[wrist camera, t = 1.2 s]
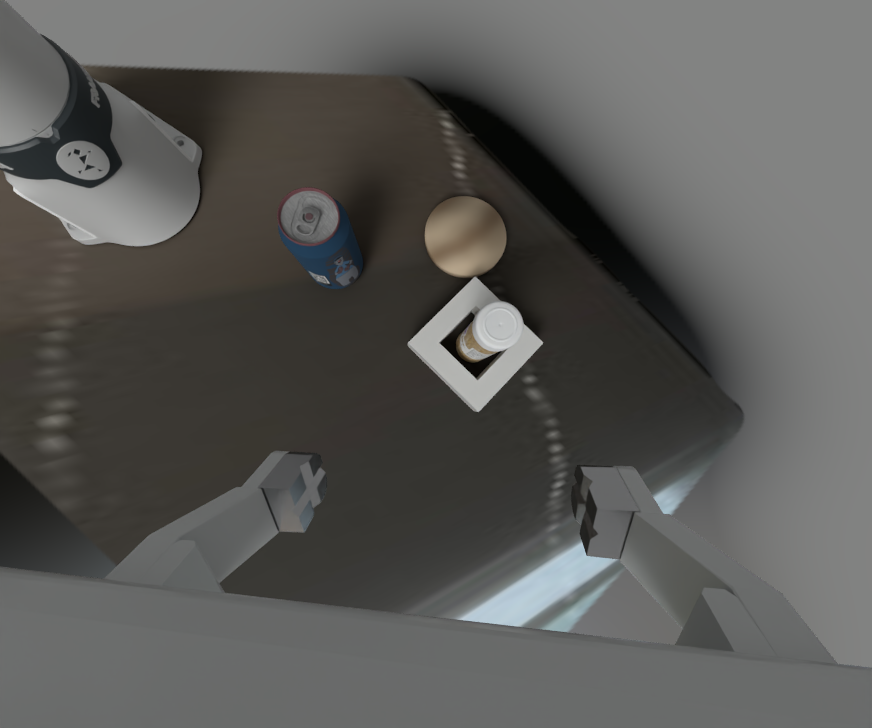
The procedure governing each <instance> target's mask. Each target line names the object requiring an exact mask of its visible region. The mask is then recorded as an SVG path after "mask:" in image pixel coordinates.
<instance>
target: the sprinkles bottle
mask: <svg viewBox="0 0 872 728" xmlns="http://www.w3.org/2000/svg"><path fill="white" fill-rule="evenodd" d="M523 328H524V324H523V319H522V316H521V314H520V312H519V311H518V310H517V309H516V308H515V307H514V306H513V305H511V304H509V303H507V302H503V301H494V302H491V303H488V304H486V305H485V306H484V307H483V308H481V309H480V311H479V312H478V313H477V314H476V316H475V318H474V320H473V321H472V322H471V323H470V325H469V326H468V327H467V328H466V329H465V330H464V331H463V332H462V333H461V334H460V335H459V336H458V338H457V341H456V350H457V352H458V354H459V356H460V357H461V358H462V359H464V360H465V361H467V362H473V363H474V362H479V361H480V360H482V359H484V358H486V357H488V356H491V355H493V354H495V353H497V352H499V351H503V350H506V349H508V348H510V347H512V346H513V345H515V344H516V343H517V342H518V341H519V339H520V338H521V336H522V333H523Z"/></svg>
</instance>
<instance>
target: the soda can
mask: <svg viewBox="0 0 872 728" xmlns="http://www.w3.org/2000/svg"><path fill="white" fill-rule="evenodd" d="M277 219H278V228H279V234H280V237H281V239H282V241H283V243H284V244H285V246H286V247H287V248H288V249H289V250H290V252H291V253H292V254H293V255H294V256H295V257H296V259H297V260H298V261H299V262H300V263H301V265H302V266H303V267H304V268H305V269H306V271H307V272H308V273H309V274H310V275H311V277H312V278H313V279H314V280H315V281H316V282H317V283H318V284H320V285H322V286H324V287H326V288H330V289H341V288H345V287H347V286H349V285H351V284H353V283H354V282H355V281H356V280H357V279H358V277H359V276H360V274H361V272H362V268H363V258H362V254H361V251H360V249H359V246H358V243H357V240H356V237H355V235H354V232H353V229H352V226H351V224H350V221H349V218H348V215H347V213H346V211H345V209H344V208H343V207H342V205H341V204H340V203H339V202H338V201H336V200H335V199H334V198H332V197H331V196H330V195H329V194H327V193H326V192H324V191H322V190H320V189H317V188H312V187H305V188H299V189H296V190H294V191H292V192H290V193H289V194H287V195H286V196H285V197H284V198H283V200H282V201H281V203H280V205H279V208H278V213H277Z"/></svg>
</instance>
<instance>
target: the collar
mask: <svg viewBox="0 0 872 728" xmlns="http://www.w3.org/2000/svg"><path fill="white" fill-rule="evenodd" d="M494 301H500V300H499V299H498V298H497V297H496V296H495V295H494V294H493V293H492V292H491V291H490V290H489V289H488V288H487V287H486V286H485V285H484V284H483V283H482V282H481V281H480V280H479V279H477V278H476V277H474V278H473V279H472V280H471V281H470V282H469V283H468V284H467V285H466V286H465V287H464V288H463V289H462V290H461V291H460V292H459V293H458V294H457V295H456V296H455V297H454V298H453V299H452V300H451V301H450V302H449V303H448V304H447V305H446V306H445V307H444V308H443V309H442V310H441V311H440V312H439V313H437V314H436V315H435V316H434V317H433V318H432V319H431V320H430V321H429V322H428V323H427V324H426V325H425V326H424V327H423V328H422V329H421V330H420V331H419V332H418V333H417V334H416V335H415V336H414V337H413V338H412V339H411V340H410V341H409V342H408V347H409V348H410V349H411V350H412V351H413V352H414V353H415V354H416V355H417V356H418V357H419V358H420V359H421V360H422V361H423V362H424V363H426V364H427V365H428V366H429V367H430V368H431V369H432V370H433V371H434V372H435V373H436V374H437V375H438V376H439V377H440V378H441V379H442V380H443V381H444V382H445V383H446V384H447V385H448V386H449V387H450V388H451V389H452V390H453V391H454V392H455V393H456V394H457V395H458V396H459V397H460V398H461V399H462V400H463V401H464V402H465V403H466V404H467V405H468V406H469V407H470V408H471V409H472V410H473V411H476V412H479V411H480V410H481V409H482V408H483V407H484V406H485V405H486V404H487V403H488V401H489V400H490V399H491V398H492V397H493V396H494V395H495V394H496V393H497V392H498V391H499V390H500V389H501V388H502V387H503V385H504V384H505V383H506V382H507V381H508V380H509V379H510V378H511V377H512V376H513V375H514V374H515V373H516V372H517V371H518V369H519V368H520V367H521V366H522V365H523V364H524V363H525V362H526V361H527V360H528V359H529V358H530V357H531V356H532V355H533V353H534V352H535V351H536V350H537V349H538V348H539V347H540V346H541V345H542V344H543V342H542V341H541V340H540V339H539V338H538V337H537V336H536V335H535V334H534V333H533V332H532V331H531V330H530V329H529V328H528V327H527V326H526V325H525V324H524V323H523V324H524V328H523V333H522V336H521V338H520V339H519V341H518V342H517V343H516V344H515V345H513V346H512V347H510V348H508V349H506V350H503V351H502V352H501V353H500V354H499V355H498V356H497V357H496V358H495V359H494V360H493V361H492V362H491V363H490V364H489V365H488V366H487V367H486V368H485V369H484V370H483V372H482V373H481V374H480V375H479V376H478V377H477V378H475V377H474V376H473V375H472V374H471V373H470V372H468V371H467V370H466V369H465V368H464V367H463V366H462V365H461V364H460V363H459V362H458V361H457V360H456V359H455V358H454V357H453V356H452V355H451V354H450V353H449V352H448V351H447V350H446V349H445V348H444V347H443V346H442V345H441V344H440V343H441V342H442V341H443V340H444V339H445V338H446V337H447V336H448V335H449V334H450V333H451V332H452V331H453V330H454V329H455V328H456V327H457V326H458V325H459V324H460V323H461V322H462V321H463V320H464V319H465V318H466V317H467V316H468V315H469V314H470V313H471V312H472V313H473V314H474V315H475V316H476V314H477V313H478V312H479V311H480V309H481V308H483V307H484V306H485V305H486V304H488V303H491V302H494Z"/></svg>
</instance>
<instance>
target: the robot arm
mask: <svg viewBox="0 0 872 728" xmlns="http://www.w3.org/2000/svg"><path fill="white" fill-rule="evenodd" d="M182 145H183V146H182ZM201 158H202V150H201V148H200V147H199V146H198V145H197V144H196V143H195V142H194V141H193V140H191V139H190V138H188V137H187V136H185V135H184V134H182V133H181V132H179V131H178V130H176V129H175V128H173V127H172V126H170V125H169V124H167V123H166V122H164V121H163V120H161V119H160V118H158V117H157V116H155V115H154V114H152V113H151V112H149V111H148V110H146V109H145V108H143V107H142V106H140V105H139V104H137V103H136V102H134V101H133V100H131V99H130V98H128V97H126V96H125V95H123V94H122V93H120V92H119V91H117V90H116V89H114V88H113V87H111V86H110V85H108V84H106V83H100V82H98V81H96V80H95V79H93V78H92V77H91V76H90V75H89V74H88V72H87V71H86V70H85V69H84V68H83V67H82V66H81V65H80V64H79V63H78V62H77V61H76V60H75V59H74V58H73V57H71V56H70V55H69V54H68V53H66V52H65V51H64V50H63V49H61V48H60V47H59V46H58V45H57V44H56V43H54V42H53V41H52V40H50V39H48V38H47V37H45V36H44V35H41V34H39V33H38V32H37V31H36V30H35V29H34V28H33V27H32V26H31V25H30V24H29V23H28V22H27V21H25V19H24V18H23V17H21V15H20V14H18V13H17V12H16V11H15V10H14V9H13V8H12V7H11V6H10V5H9V4H8V3H7V2H6V1H5V0H0V169H1V170H3V171H4V173H5V176H6V180H7V181H8V182H9V183H10V184H11V185H12V186H13V190H14V191H15V192H16V193H17V194H18V195H20V196H21V197H23V198H25V199H26V200H28V201H30V202H32V203H34V204H35V205H37V206H39V207H41V208H42V209H44V210H46V211H48V212H50V213H51V214H53V215H55V216H57V217H59V218H60V220H61V221H62V223H63V224H64V226H65V228H66V229H67V231H68V232H69V234H70V235H71V237H72V238H74V239H75V240H77V241H79V242H80V243H82V244H86V245H91V244H99V243H105V242H112V243H117V244H122V245H128V246H146V245H152V244H156V243H159V242H162V241H164V240H166V239H168V238H170V237H172V236H174V235H175V234H177V233H178V232H179V231H180V230H181V229H183V228H184V227H185V226H186V224H187V223H188V222H189V221H190V219H191V218H192V216H193V215H194V213H195V211H196V208H197V205H198V202H199V197H200V184H199V178H198V168H199V165H200V162H201ZM322 463H323V462H322V459H321V456H320V455H319V454H317V453H305V452H291V451H290V452H285V451H275V452H272V453H271V454H270V455H269V456H268V457H267V459H266V460H265V461H264V462H263V463H262V464H261V465H260V466H259V468H258V469H257V470H256V471H255V472H254V473H253V474H252V476H251V477H250V478H249V479H248V480H247V481H246V482H245V484H244V485H243V486H242V487H236V488H234V489H232V490H230V491H229V492H227V493H225V494H223V495H221V496H220V497H218V498H216V499H214V500H212V501H210V502H209V503H207V504H205V505H203V506H201V507H199V508H198V509H196V510H194V511H192V512H190V513H189V514H187V515H185V516H183V517H181V518H179V519H178V520H176V521H174V522H172V523H170V524H168V525H167V526H165V527H163V528H161V529H159V530H157V531H156V532H154V533H152V534H150V535H149V536H148V537H147V538H146V539H145V540H143V541H142V542H141V543H140V544H139V545H138V546H137V547H136V548H135V549H134V550H133V551H132V552H131V553H130V554H129V555H128V556H127V557H126V558H125V559H124V560H123V561H122V562H121V563H120V564H119V565H118V566H117V567H116V568H115V569H114V570H113V571H111V572H110V573H109V574H108V575H107V576H106V577H105V578H104V579H99V578H91V577H83V576H73V575H65V574H57V573H48V572H39V571H31V570H22V569H13V568H5V567H0V728H872V668H870V667H861V666H853V665H844V664H838V663H837V662H836V661H835V660H834V658H833V657H832V656H831V655H830V653H829V652H828V651H827V650H826V648H825V647H824V646H823V645H822V643H821V642H820V641H819V640H818V638H817V637H816V636H815V635H814V633H813V632H812V631H811V629H810V628H809V627H808V626H807V624H806V623H805V622H804V621H803V619H802V618H801V617H800V615H799V614H798V613H797V612H796V611H795V609H794V608H793V607H792V605H791V604H790V603H789V602H788V600H787V599H786V598H785V597H784V595H783V594H782V593H781V592H779V591H778V590H776V589H775V588H774V587H772V586H771V585H769V584H768V583H767V582H765V581H764V580H762V579H761V578H759V577H758V576H756V575H755V574H754V573H752V572H751V571H749V570H748V569H747V568H745V567H744V566H742V565H741V564H740V563H738V562H737V561H735V560H734V559H732V558H731V557H730V556H728V555H727V554H725V553H724V552H722V551H721V550H719V549H718V548H716V547H715V546H714V545H712V544H711V543H709V542H708V541H707V540H705V539H704V538H702V537H701V536H699V535H698V534H697V533H695V532H694V531H692V530H691V529H689V528H688V527H687V526H685V525H684V524H682V523H681V522H680V521H678V520H677V519H675V518H674V517H673V516H671V515H670V514H663V512H662V511H661V509H660V508H659V506H658V504H657V503H656V501H655V500H654V498H653V496H652V495H651V493H650V491H649V490H648V488H647V487H646V485H645V483H644V482H643V480H642V479H641V477H640V475H639V474H638V472H637V471H636V469H635V468H633V467H629V466H593V465H577V467H576V468H575V474H574V476H575V478H576V481H577V483H575V484H574V485H573V486H572V492H571V502H572V509H573V513H574V517H575V520H577V521H578V522H579V523H580V524H581V529H580V536H581V539H582V542H583V545H584V549H585V552H586V555H587V556H593V557H602V558H612V559H620V562H621V563H622V564H623V565H624V566H625V567H626V568H627V569H628V570H629V572H630V573H631V574H632V575H633V576H634V577H635V578H636V579H637V580H638V581H639V582H640V584H641V585H642V586H643V587H644V588H645V589H646V590H647V591H648V592H649V593H650V595H651V596H653V598H654V599H655V600H656V601H657V602H658V603H659V604H660V605H661V607H662V608H663V609H664V610H665V611H666V612H667V613H668V614H669V615H670V616H671V617H672V619H673V620H674V621H675V622H676V623H677V624H678V625H679V626H680V627H681V628H682V632H681V634H680V636H679V638H678V640H677V642H676V644H675V645H670V644H662V643H654V642H645V641H636V640H627V639H619V638H610V637H602V636H593V635H584V634H576V633H567V632H558V631H550V630H541V629H532V628H524V627H515V626H506V625H498V624H489V623H480V622H472V621H463V620H454V619H446V618H437V617H428V616H420V615H411V614H402V613H393V612H385V611H376V610H367V609H358V608H350V607H341V606H332V605H324V604H315V603H306V602H298V601H289V600H281V599H272V598H263V597H255V596H246V595H237V594H229V593H225V592H224V591H223V589H222V587H221V585H220V584H219V583H220V582H221V581H222V580H223V579H224V578H226V577H227V576H228V575H229V574H230V573H231V572H233V571H234V570H235V569H236V568H237V567H239V566H240V565H241V564H242V563H243V562H244V561H246V560H247V559H248V558H249V557H250V556H252V555H253V554H254V553H255V552H256V551H257V550H259V549H260V548H261V547H262V546H263V545H265V544H266V543H267V542H268V541H269V540H271V539H272V538H273V537H274V536H275V535H276V534H278V531H286V532H305V530H306V528H307V526H308V525H309V523H310V521H311V519H312V517H313V516H314V509H313V507H315V506H316V505H318V504H319V503H320V502H321V501H322V499H323V497H324V495H325V492H326V488H327V477H326V473H325V472H324V471H323V470H322V469H321V468H320V466H321V465H322Z"/></svg>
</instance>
